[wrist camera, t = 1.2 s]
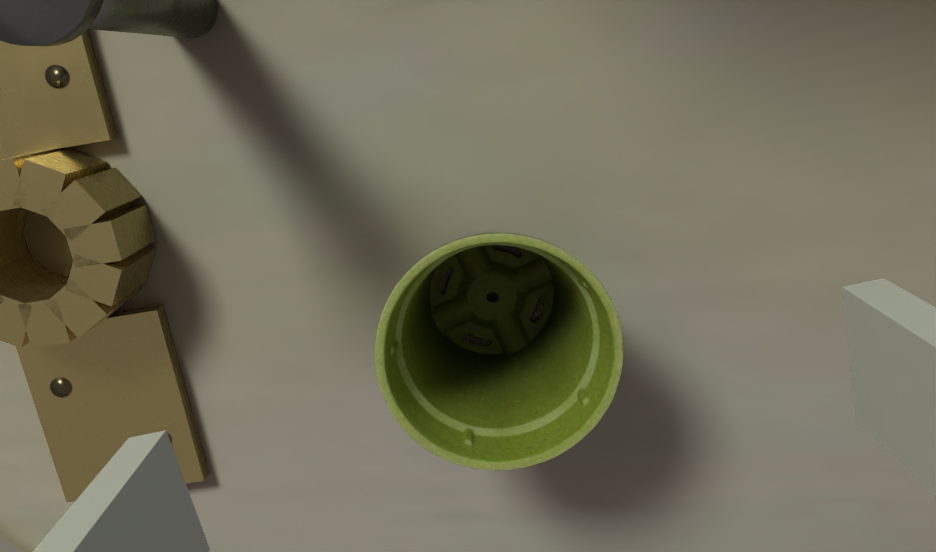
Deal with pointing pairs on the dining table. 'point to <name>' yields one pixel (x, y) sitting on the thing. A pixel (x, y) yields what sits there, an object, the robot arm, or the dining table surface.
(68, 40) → the pin
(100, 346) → the hinge
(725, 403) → the dining table surface
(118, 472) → the robot arm
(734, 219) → the dining table surface
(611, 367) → the plant pot
